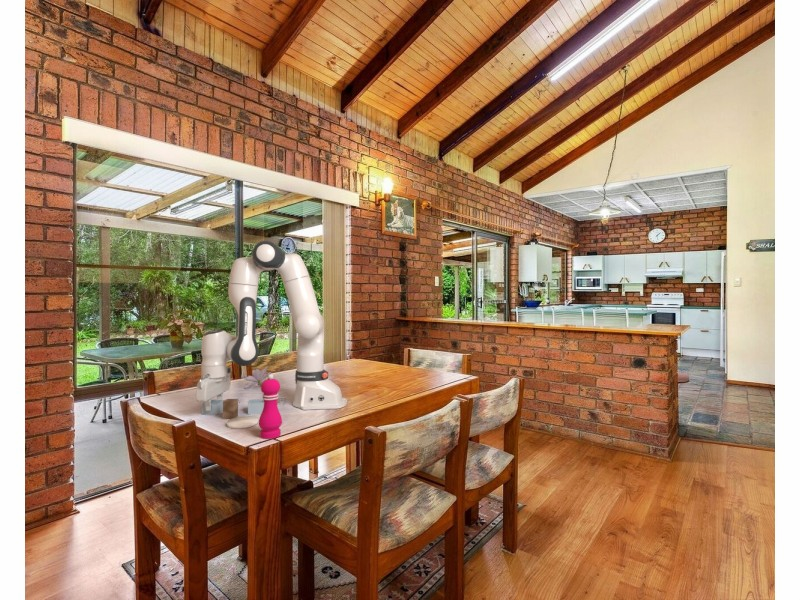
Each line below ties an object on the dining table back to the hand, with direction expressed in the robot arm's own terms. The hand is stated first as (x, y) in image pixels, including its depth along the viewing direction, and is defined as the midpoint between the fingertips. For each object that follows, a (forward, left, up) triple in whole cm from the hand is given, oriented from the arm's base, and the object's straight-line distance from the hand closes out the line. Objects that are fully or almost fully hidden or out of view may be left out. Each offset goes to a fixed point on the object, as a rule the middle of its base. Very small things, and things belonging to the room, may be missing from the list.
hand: (213, 407), depth 159 cm
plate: (-17, +14, -2) cm, 22 cm away
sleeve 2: (-16, -2, -2) cm, 16 cm away
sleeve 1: (0, 0, -2) cm, 2 cm away
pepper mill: (-31, +25, -2) cm, 40 cm away
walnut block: (-10, +6, -2) cm, 12 cm away
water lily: (-1, -43, -2) cm, 43 cm away
